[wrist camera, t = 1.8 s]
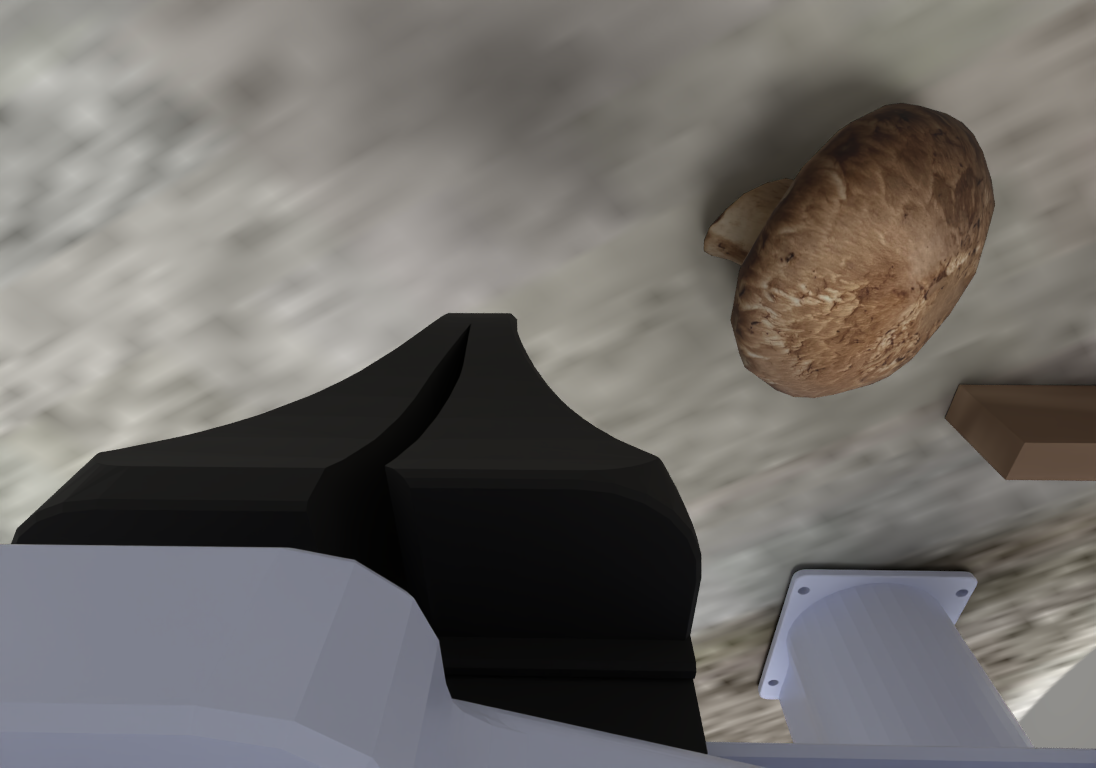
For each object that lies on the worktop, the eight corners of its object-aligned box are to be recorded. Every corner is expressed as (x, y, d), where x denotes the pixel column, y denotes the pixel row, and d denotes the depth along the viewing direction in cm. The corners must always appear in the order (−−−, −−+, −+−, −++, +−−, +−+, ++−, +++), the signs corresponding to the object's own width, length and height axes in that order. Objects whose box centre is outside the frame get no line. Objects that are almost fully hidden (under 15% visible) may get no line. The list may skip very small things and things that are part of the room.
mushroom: (608, 259, 16) (812, 365, 12) (789, 11, 15) (1069, 30, 11) (709, 370, 22) (867, 465, 18) (841, 194, 21) (1036, 250, 17)
